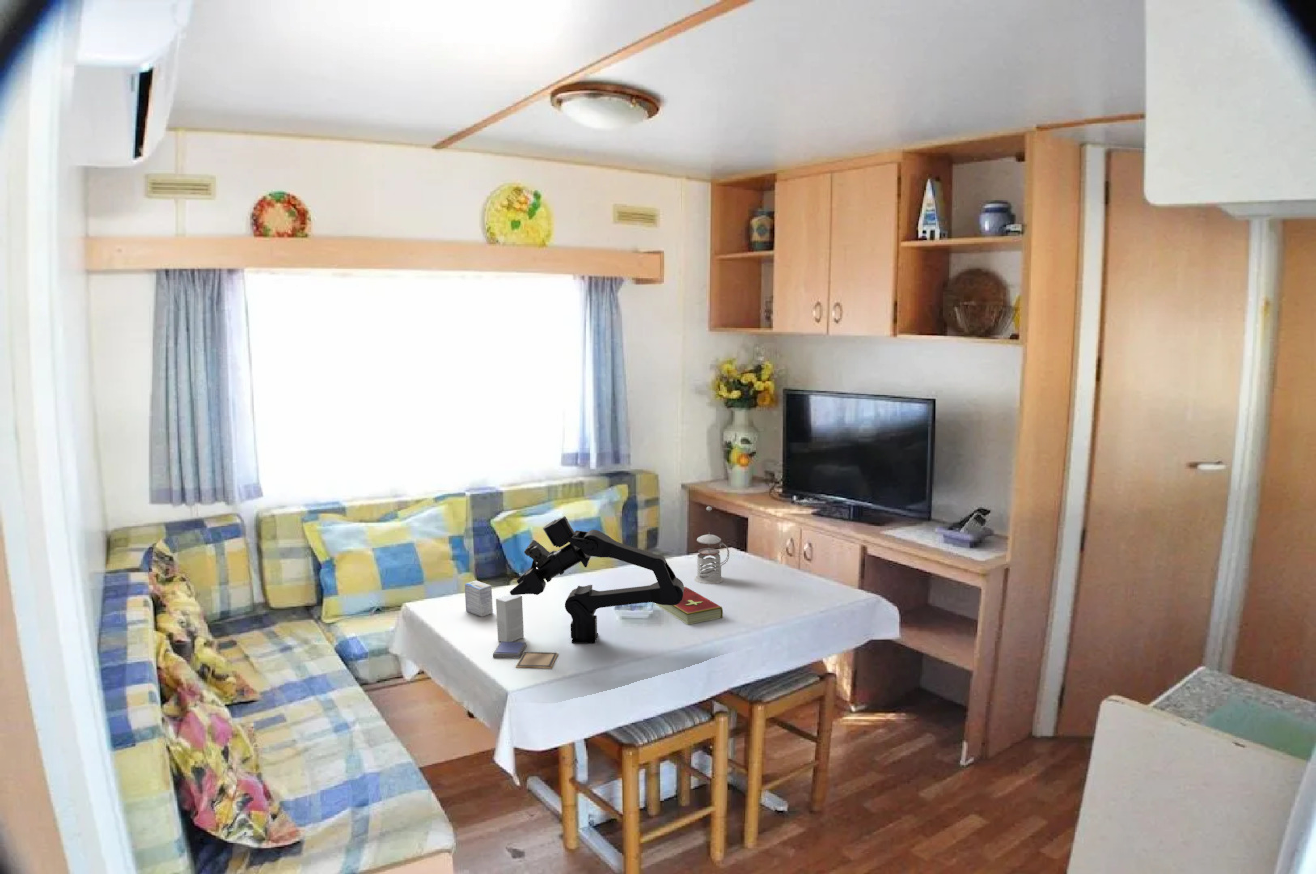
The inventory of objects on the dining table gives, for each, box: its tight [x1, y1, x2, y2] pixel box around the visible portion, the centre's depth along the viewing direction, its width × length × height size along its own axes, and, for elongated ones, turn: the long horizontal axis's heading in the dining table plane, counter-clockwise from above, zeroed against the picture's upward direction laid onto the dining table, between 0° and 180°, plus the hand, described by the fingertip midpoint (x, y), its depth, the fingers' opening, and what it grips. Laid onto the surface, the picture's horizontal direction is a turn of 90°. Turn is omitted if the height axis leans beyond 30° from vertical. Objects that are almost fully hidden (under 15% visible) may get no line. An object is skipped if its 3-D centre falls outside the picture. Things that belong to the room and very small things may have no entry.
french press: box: [694, 506, 730, 585], centre depth 279 cm, size 10×12×25 cm
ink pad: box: [492, 641, 527, 659], centre depth 222 cm, size 7×8×1 cm
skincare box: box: [495, 593, 525, 642], centre depth 230 cm, size 6×4×12 cm
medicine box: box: [464, 580, 494, 617], centre depth 251 cm, size 8×4×9 cm, turn 47°
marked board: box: [515, 651, 559, 669], centre depth 216 cm, size 9×9×1 cm
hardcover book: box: [655, 586, 724, 626], centre depth 252 cm, size 12×21×4 cm, turn 28°
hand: (514, 587), depth 229 cm, fingers open, 9 cm apart
